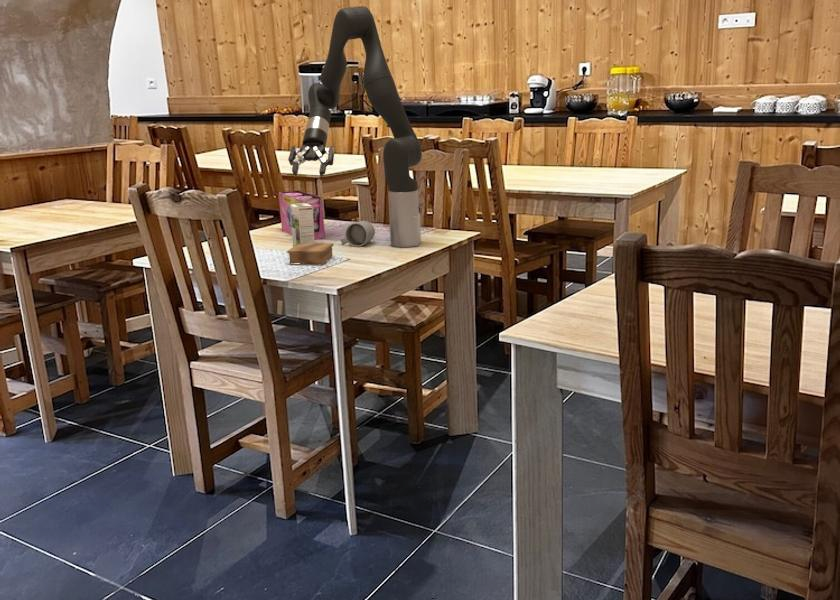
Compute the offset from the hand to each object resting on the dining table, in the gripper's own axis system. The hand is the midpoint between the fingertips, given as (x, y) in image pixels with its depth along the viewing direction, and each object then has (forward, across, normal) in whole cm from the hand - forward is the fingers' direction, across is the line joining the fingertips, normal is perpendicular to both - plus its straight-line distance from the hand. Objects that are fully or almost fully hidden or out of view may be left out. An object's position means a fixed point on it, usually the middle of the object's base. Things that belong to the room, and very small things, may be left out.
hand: (307, 174), depth 248 cm
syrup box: (+24, +1, +8) cm, 25 cm away
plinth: (+32, +7, -1) cm, 33 cm away
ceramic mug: (+17, +16, +15) cm, 27 cm away
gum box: (+6, -7, +26) cm, 28 cm away
